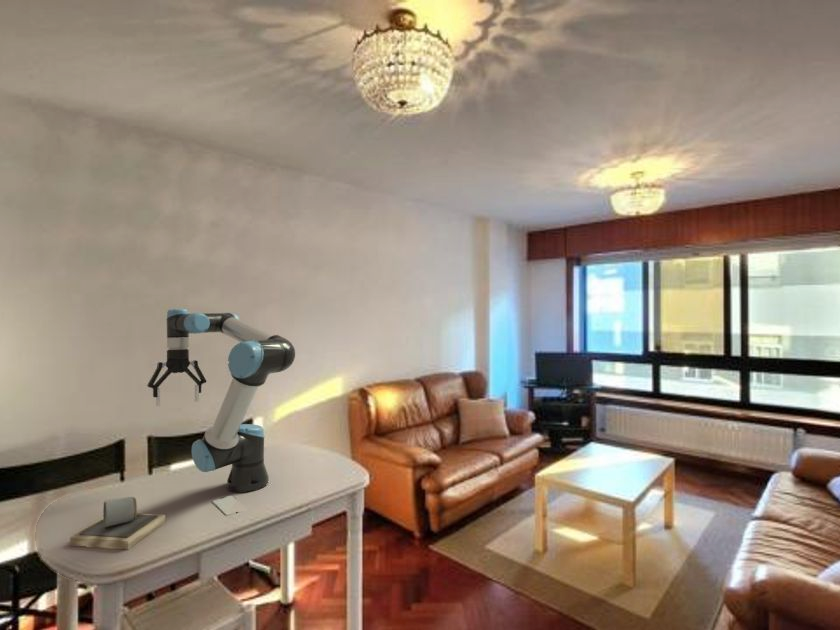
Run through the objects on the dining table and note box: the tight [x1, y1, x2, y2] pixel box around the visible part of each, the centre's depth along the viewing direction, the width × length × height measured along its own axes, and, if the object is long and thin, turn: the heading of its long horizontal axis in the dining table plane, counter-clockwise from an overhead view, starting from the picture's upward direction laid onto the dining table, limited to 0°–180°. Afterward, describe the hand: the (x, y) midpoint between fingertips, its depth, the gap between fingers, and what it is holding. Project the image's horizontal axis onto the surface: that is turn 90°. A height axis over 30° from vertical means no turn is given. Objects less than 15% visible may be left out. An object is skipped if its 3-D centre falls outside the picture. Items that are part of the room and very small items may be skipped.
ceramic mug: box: [102, 496, 138, 528], centre depth 139 cm, size 11×8×8 cm
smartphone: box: [211, 494, 238, 516], centre depth 157 cm, size 7×1×15 cm
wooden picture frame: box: [69, 512, 166, 551], centre depth 137 cm, size 18×16×3 cm
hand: (177, 403), depth 175 cm, fingers open, 13 cm apart
